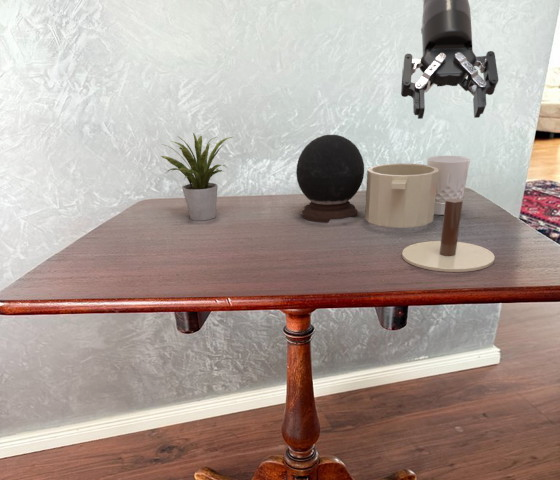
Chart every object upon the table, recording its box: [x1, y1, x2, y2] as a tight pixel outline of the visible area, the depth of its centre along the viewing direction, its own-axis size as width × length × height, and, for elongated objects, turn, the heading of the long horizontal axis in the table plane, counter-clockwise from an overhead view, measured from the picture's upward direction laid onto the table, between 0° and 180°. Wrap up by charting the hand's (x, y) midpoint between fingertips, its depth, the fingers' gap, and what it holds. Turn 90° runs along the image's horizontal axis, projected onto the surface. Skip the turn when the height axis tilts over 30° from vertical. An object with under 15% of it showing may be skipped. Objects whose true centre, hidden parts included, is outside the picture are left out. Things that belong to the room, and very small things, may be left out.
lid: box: [401, 199, 496, 273], centre depth 81 cm, size 14×14×9 cm
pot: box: [364, 163, 438, 229], centre depth 101 cm, size 13×18×10 cm
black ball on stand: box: [296, 134, 365, 223], centre depth 106 cm, size 13×13×15 cm
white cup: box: [426, 155, 471, 216], centre depth 107 cm, size 8×8×10 cm
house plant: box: [160, 132, 233, 222], centre depth 108 cm, size 14×14×16 cm
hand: (449, 114), depth 83 cm, fingers open, 8 cm apart
